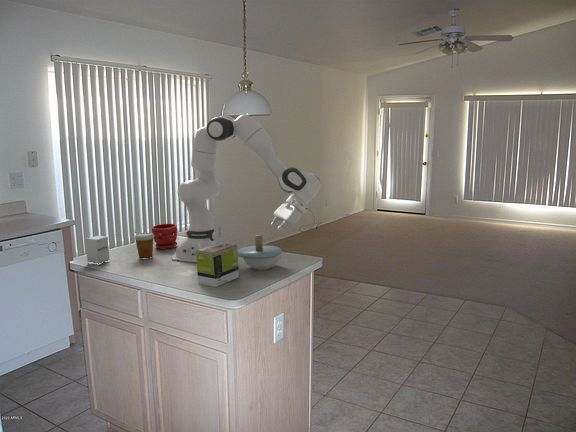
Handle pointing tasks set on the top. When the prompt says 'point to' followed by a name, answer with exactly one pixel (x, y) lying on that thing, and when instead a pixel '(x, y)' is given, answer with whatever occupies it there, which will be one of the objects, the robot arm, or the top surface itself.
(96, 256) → the supplement box
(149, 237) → the glass of beer
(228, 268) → the tea box
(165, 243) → the plant pot
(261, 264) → the cereal bowl
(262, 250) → the cover
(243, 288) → the top surface
